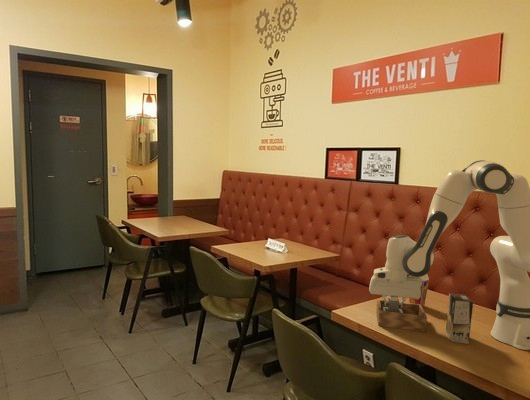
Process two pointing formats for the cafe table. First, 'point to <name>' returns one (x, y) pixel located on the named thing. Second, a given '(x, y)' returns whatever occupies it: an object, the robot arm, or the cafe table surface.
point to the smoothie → (423, 291)
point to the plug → (393, 304)
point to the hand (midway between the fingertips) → (393, 306)
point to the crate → (402, 316)
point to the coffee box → (459, 318)
